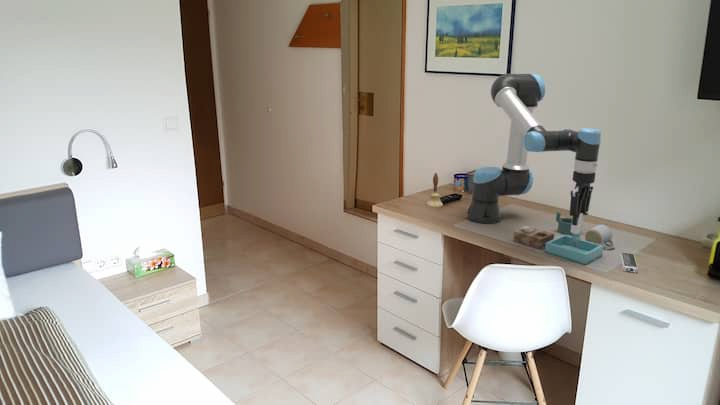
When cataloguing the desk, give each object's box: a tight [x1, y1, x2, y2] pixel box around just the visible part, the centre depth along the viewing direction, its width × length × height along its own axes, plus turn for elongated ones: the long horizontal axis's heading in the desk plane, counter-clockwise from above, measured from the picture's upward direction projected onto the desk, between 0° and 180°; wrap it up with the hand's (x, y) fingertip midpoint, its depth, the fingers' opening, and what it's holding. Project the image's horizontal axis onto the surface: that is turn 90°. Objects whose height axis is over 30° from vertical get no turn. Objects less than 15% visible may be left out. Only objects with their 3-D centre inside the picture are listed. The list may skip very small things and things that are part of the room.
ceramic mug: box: [584, 224, 616, 250], centre depth 213 cm, size 11×8×8 cm
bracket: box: [555, 211, 572, 236], centre depth 229 cm, size 9×9×9 cm
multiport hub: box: [620, 252, 639, 273], centre depth 196 cm, size 4×14×2 cm, turn 159°
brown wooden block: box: [512, 225, 555, 250], centre depth 216 cm, size 12×10×5 cm
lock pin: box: [571, 212, 583, 247], centre depth 202 cm, size 3×3×13 cm
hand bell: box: [425, 172, 444, 208], centre depth 264 cm, size 8×8×16 cm
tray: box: [544, 234, 604, 266], centre depth 205 cm, size 16×14×4 cm
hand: (576, 231), depth 202 cm, fingers closed on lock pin, 3 cm apart
